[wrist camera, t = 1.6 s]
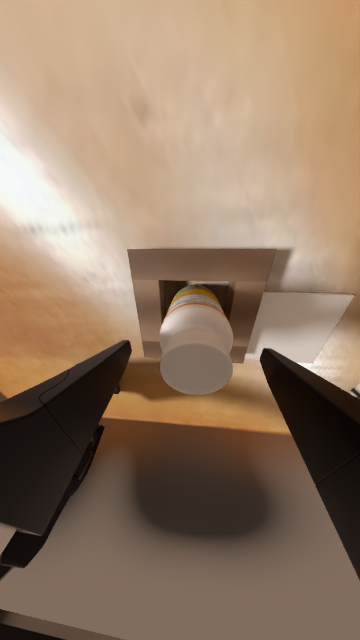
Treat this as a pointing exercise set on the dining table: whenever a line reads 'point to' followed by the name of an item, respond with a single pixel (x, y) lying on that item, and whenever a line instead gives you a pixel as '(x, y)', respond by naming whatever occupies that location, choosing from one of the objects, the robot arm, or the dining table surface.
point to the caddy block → (200, 265)
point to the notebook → (356, 391)
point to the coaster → (296, 323)
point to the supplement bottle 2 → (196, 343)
